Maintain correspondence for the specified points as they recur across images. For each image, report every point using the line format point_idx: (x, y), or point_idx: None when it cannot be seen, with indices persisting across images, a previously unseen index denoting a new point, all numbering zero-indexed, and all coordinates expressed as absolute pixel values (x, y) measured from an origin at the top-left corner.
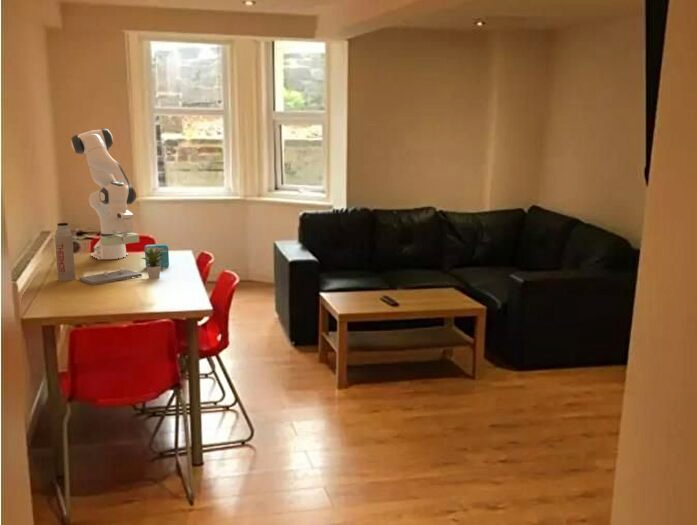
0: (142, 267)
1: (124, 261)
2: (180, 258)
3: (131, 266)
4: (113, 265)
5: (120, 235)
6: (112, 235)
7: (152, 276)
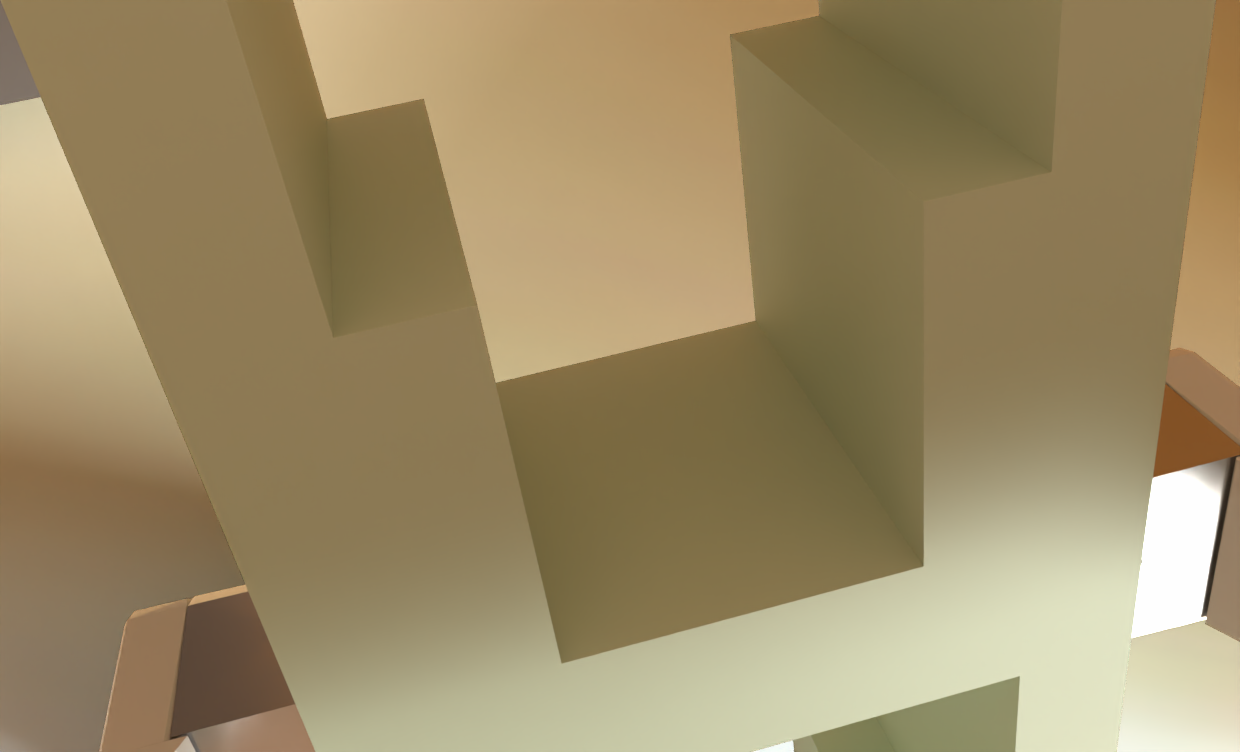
0: None
1: (1195, 342)
2: None
3: (691, 334)
4: None
5: (795, 720)
6: (1144, 319)
7: None
